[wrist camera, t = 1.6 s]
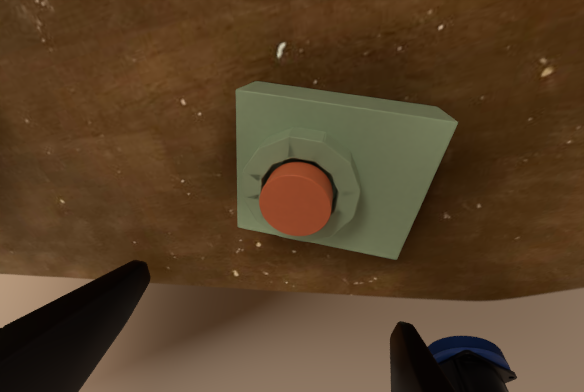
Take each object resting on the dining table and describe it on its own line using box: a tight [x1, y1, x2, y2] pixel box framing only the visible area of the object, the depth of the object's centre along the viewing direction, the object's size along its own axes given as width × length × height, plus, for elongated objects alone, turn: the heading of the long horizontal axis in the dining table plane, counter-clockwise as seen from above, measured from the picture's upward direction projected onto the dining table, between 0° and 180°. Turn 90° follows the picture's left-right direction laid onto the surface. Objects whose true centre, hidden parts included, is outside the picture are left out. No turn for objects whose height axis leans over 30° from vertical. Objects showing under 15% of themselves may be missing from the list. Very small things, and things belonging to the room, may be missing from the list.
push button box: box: [236, 81, 458, 260], centre depth 17 cm, size 12×10×6 cm
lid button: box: [259, 162, 333, 236], centre depth 15 cm, size 4×4×2 cm
